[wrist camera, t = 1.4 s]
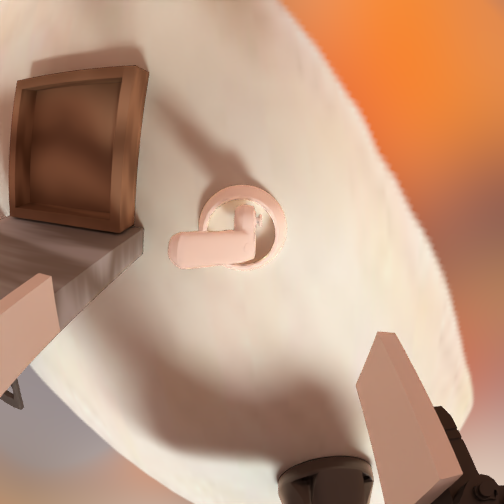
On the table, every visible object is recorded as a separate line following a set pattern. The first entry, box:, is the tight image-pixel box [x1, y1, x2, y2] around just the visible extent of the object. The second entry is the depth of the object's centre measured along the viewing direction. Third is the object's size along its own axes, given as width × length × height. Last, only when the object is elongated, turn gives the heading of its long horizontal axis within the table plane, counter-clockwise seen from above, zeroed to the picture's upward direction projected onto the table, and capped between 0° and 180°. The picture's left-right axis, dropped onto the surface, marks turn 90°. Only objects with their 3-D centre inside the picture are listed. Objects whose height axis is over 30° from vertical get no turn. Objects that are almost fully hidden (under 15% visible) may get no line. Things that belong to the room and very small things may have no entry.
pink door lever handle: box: [168, 185, 287, 271], centre depth 24 cm, size 8×12×7 cm
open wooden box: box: [0, 65, 149, 344], centre depth 19 cm, size 17×16×16 cm
